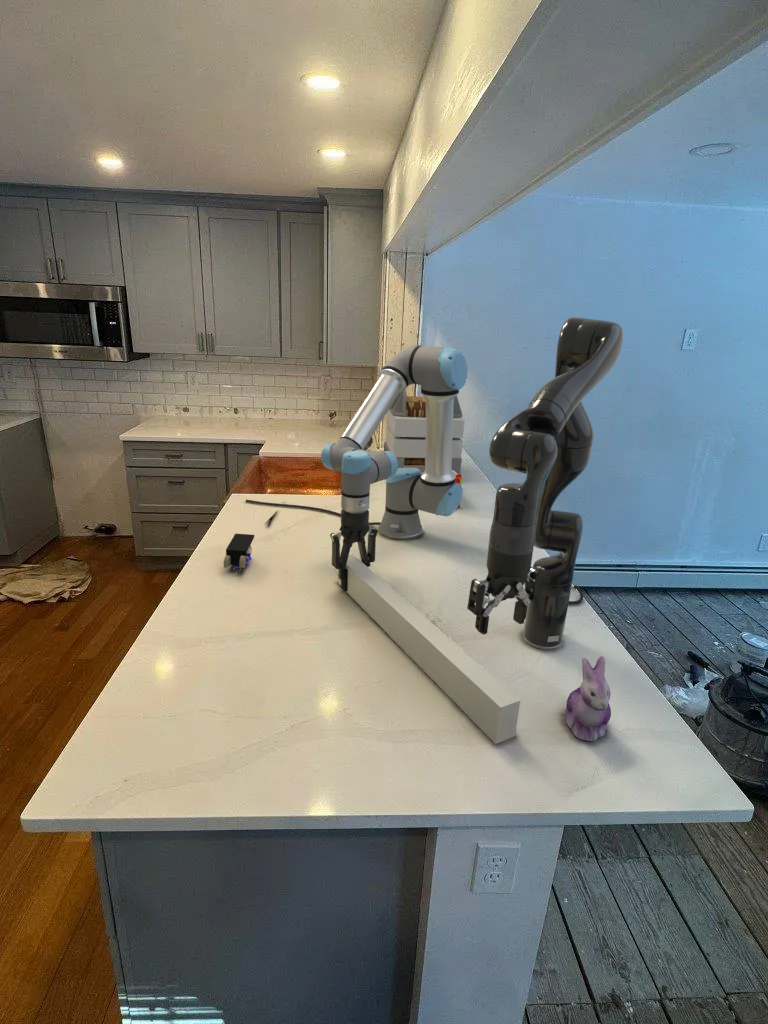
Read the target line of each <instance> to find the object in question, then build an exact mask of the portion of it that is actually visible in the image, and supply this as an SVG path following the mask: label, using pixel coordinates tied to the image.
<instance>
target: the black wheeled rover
mask: <svg viewBox="0 0 768 1024" xmlns="http://www.w3.org/2000/svg"><path fill="white" fill-rule="evenodd" d="M253 540H255V534H247V533H235V534H234V535H233V537H232V538H231V539H230V542H229V544H228V546H227V547H226V549H225V556H224V558H223V567H224V568H230V569H229V572H230V573H233V571H234V569H235V568H238V569H240V570H239V573H243V570H244V569H245V568H246V567H247V565H248V563H249V562H250V561H252V557H251V556H252V552H253V548H252V546H251V544H252V543H253Z"/></svg>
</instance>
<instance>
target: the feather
mask: <svg viewBox="0 0 768 1024" xmlns="http://www.w3.org/2000/svg"><path fill="white" fill-rule="evenodd" d="M277 513H278V511H276V512H274V513H273V515H272V516H270V518H268V520H267V521H265V524H267V525H268V526H267V527H270V525H271V523H272V521H273V520H274V518H275V516H276V515H277Z"/></svg>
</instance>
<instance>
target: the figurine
mask: <svg viewBox="0 0 768 1024" xmlns="http://www.w3.org/2000/svg"><path fill="white" fill-rule="evenodd" d="M581 669H582V682H580V683H581V684H580V686H579V687H577V688H575V689H574V690H573V691H571V692H570V693H569V694H568V696H567V700H566V708H565V713H564V716H565V722H566V726H568V727H569V729H570V730H571V731H572V732H573V735H574V736H575V737H576V738H578V739H580V740H584V741H586V742H587V741H588V742H595V741H597V740H598V738H602V737H604V736H605V734H606V731H607V728H608V723H609V722H610V720H611V717H612V709H611V705H610V699H611V688H610V686H609V684H608V681H607V679H606V675H605V670H606V659H605V656H603V655H601V656H599V657H598V658H597V660H596V662H595V665H594V667H593V666H592V664H591V663H590V660H589V659H587V658H586V657H582V658H581Z"/></svg>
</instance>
